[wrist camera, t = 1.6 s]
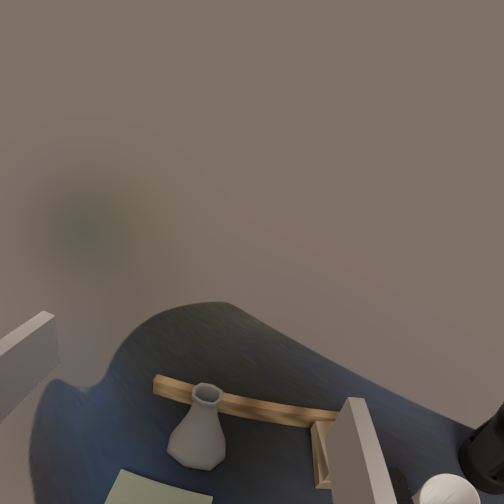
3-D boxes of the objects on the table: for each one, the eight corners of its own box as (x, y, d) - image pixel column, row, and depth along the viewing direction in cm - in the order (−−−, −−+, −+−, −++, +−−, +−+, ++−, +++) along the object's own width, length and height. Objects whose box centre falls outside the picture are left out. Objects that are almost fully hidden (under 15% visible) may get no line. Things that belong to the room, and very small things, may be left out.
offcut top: (336, 430, 35) (342, 421, 34) (352, 479, 26) (360, 471, 26) (310, 430, 34) (315, 420, 34) (322, 481, 26) (329, 473, 25)
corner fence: (342, 423, 38) (350, 410, 37) (360, 509, 23) (372, 497, 22) (156, 386, 38) (157, 371, 38) (113, 468, 23) (110, 454, 22)
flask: (182, 419, 34) (190, 362, 31) (234, 439, 32) (251, 385, 30) (156, 454, 27) (158, 398, 24) (214, 480, 26) (230, 429, 23)
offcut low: (336, 442, 35) (341, 433, 34) (343, 491, 26) (350, 483, 26) (310, 439, 35) (314, 431, 34) (313, 490, 26) (319, 482, 26)
